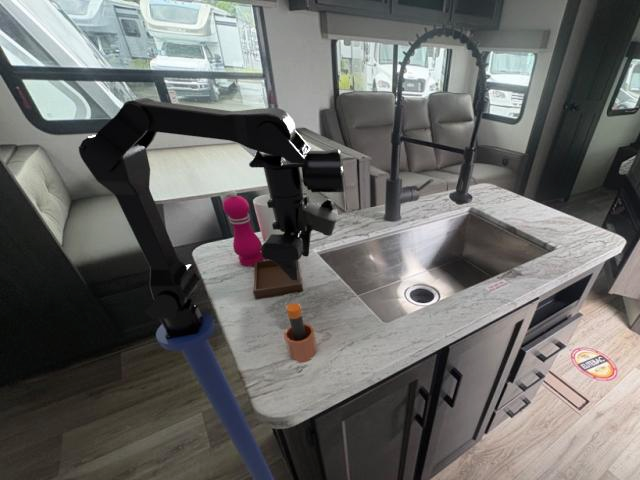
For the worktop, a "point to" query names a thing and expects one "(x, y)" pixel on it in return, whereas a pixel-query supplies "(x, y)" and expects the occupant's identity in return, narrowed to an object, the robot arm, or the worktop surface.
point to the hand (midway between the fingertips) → (300, 267)
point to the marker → (296, 321)
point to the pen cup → (301, 345)
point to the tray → (273, 280)
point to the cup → (265, 216)
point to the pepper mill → (242, 230)
